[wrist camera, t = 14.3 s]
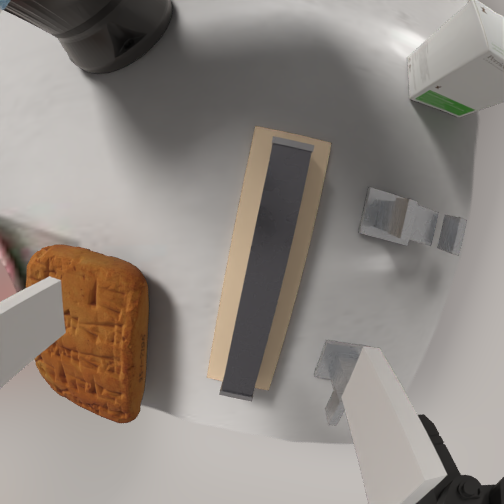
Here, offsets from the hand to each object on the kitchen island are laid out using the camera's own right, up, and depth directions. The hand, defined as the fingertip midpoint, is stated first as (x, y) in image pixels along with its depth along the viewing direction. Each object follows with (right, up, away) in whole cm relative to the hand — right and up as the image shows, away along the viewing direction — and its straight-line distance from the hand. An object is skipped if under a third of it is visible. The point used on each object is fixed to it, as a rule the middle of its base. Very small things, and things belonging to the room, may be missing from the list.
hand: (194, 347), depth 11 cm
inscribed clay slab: (-18, -6, +24) cm, 31 cm away
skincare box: (+25, +24, +15) cm, 37 cm away
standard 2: (+17, +8, +18) cm, 26 cm away
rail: (+3, +1, +20) cm, 20 cm away
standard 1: (+13, -10, +22) cm, 27 cm away
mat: (+3, +2, +20) cm, 21 cm away
